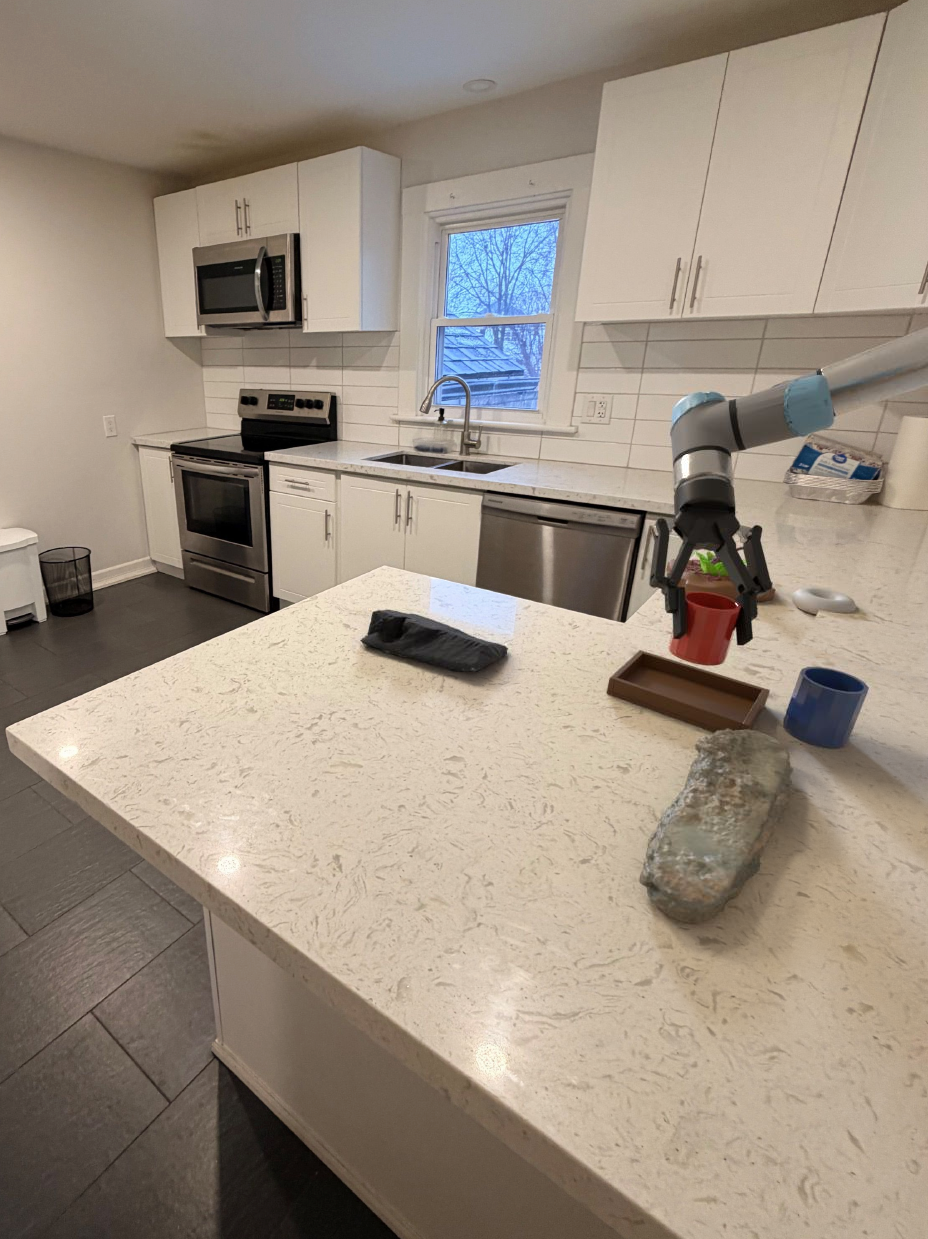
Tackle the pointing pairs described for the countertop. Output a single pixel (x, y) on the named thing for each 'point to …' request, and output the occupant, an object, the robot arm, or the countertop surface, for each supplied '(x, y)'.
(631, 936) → the countertop surface
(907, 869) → the countertop surface
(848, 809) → the countertop surface
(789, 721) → the blue cup
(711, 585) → the plant
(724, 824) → the elongated rock
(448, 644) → the folded black pouch
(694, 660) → the red cup
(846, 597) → the donut
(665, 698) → the tray
